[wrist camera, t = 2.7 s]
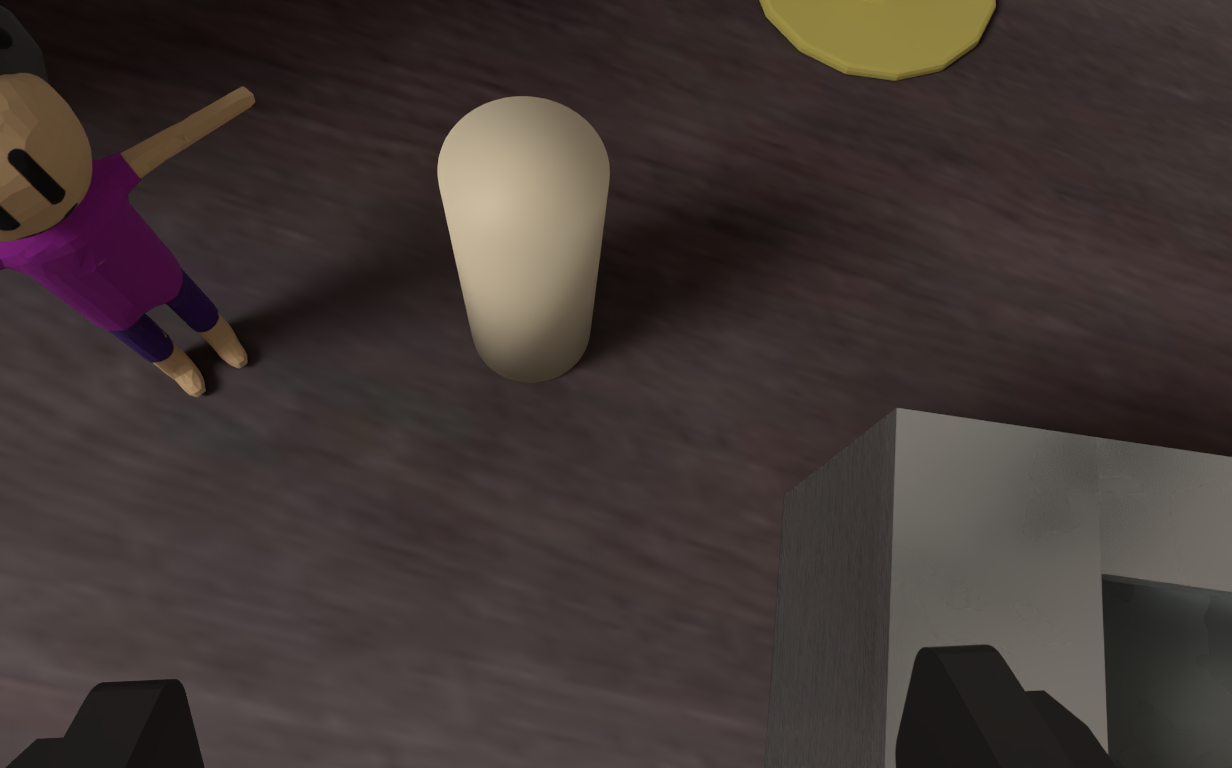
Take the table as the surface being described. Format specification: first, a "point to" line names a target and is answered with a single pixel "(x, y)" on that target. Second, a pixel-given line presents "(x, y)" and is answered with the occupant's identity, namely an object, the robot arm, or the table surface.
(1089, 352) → the table surface
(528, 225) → the capsule
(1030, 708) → the robot arm
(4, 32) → the toy
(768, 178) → the table surface
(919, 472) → the white hollow block
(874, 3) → the candle
